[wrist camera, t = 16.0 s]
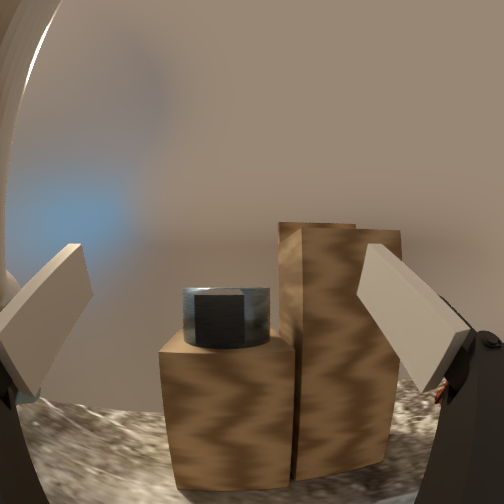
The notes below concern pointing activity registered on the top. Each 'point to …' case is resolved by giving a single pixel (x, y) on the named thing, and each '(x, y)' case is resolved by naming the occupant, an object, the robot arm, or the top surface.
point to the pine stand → (288, 377)
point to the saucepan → (226, 317)
